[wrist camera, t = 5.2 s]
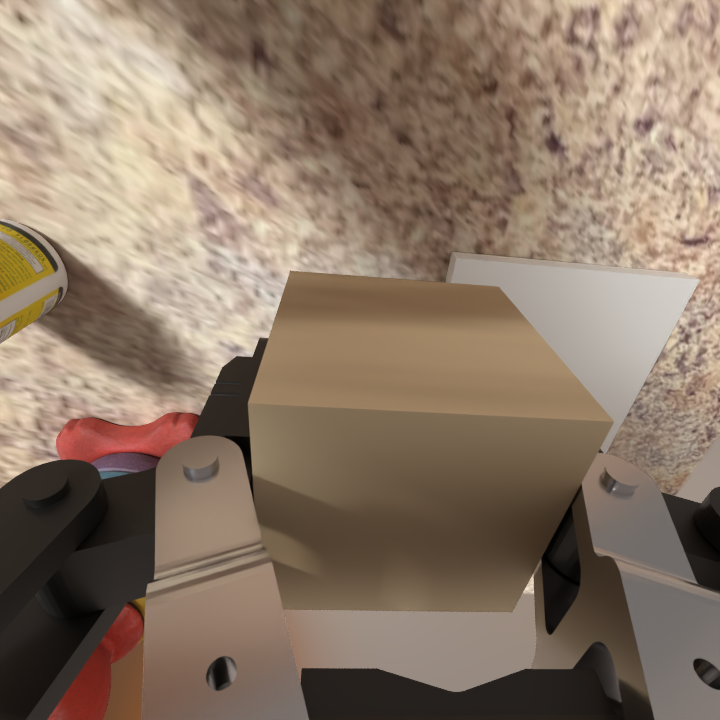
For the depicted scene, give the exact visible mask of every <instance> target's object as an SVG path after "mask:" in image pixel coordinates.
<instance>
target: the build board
mask: <svg viewBox="0 0 720 720" xmlns="http://www.w3.org/2000/svg"><path fill="white" fill-rule="evenodd" d="M699 281H700V280H699V279H697V278H695V277H693V276H690V275H688V274H686V273H680V272H669V271H658V270H647V269H636V268H625V267H614V266H604V265H593V264H582V263H571V262H560V261H549V260H538V259H527V258H516V257H505V256H494V255H483V254H472V253H461V252H451V257H450V262H449V266H448V271H447V276H446V281H445V283H458V284H471V285H485V286H498V287H500V289H501V290H502V291H503V292H504V293H505V294H506V296H507V297H508V298H509V299H510V300H511V301H512V303H513V304H514V305H515V306H516V307H517V308H518V310H519V311H520V312H521V313H522V314H523V315H524V317H525V318H526V319H527V320H528V321H529V323H530V324H531V325H532V326H533V327H534V328H535V330H536V331H537V332H538V333H539V334H540V335H541V337H542V338H543V339H544V340H545V341H546V342H547V344H548V345H549V346H550V347H551V348H552V349H553V351H554V352H555V353H556V354H557V355H558V356H559V358H560V359H561V360H562V361H563V362H564V363H565V365H566V366H567V367H568V368H569V369H570V370H571V372H572V373H573V374H574V375H575V376H576V377H577V379H578V380H579V381H580V382H581V383H582V384H583V386H584V387H585V388H586V389H587V390H588V391H589V393H590V394H591V395H592V396H593V397H594V398H595V400H596V401H597V402H598V403H599V404H600V405H601V407H602V408H603V409H604V410H605V411H606V412H607V414H608V415H609V416H610V417H611V418H612V419H613V421H614V423H613V425H612V427H611V429H610V431H609V433H608V435H607V436H606V438H605V440H604V442H603V444H602V446H601V448H600V449H601V450H602V451H603V453H605V454H606V453H607V451H608V449H609V447H610V445H611V444H612V442H613V440H614V438H615V436H616V434H617V432H618V431H619V429H620V427H621V425H622V423H623V421H624V420H625V418H626V416H627V414H628V412H629V410H630V408H631V407H632V405H633V403H634V401H635V399H636V397H637V395H638V394H639V392H640V390H641V388H642V386H643V384H644V382H645V381H646V379H647V377H648V375H649V373H650V371H651V370H652V368H653V366H654V364H655V362H656V360H657V358H658V357H659V355H660V353H661V351H662V349H663V347H664V345H665V344H666V342H667V340H668V338H669V336H670V334H671V332H672V331H673V329H674V327H675V325H676V323H677V321H678V320H679V318H680V316H681V314H682V312H683V310H684V308H685V307H686V305H687V303H688V301H689V299H690V297H691V295H692V294H693V292H694V290H695V288H696V286H697V284H698V282H699Z"/></svg>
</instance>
